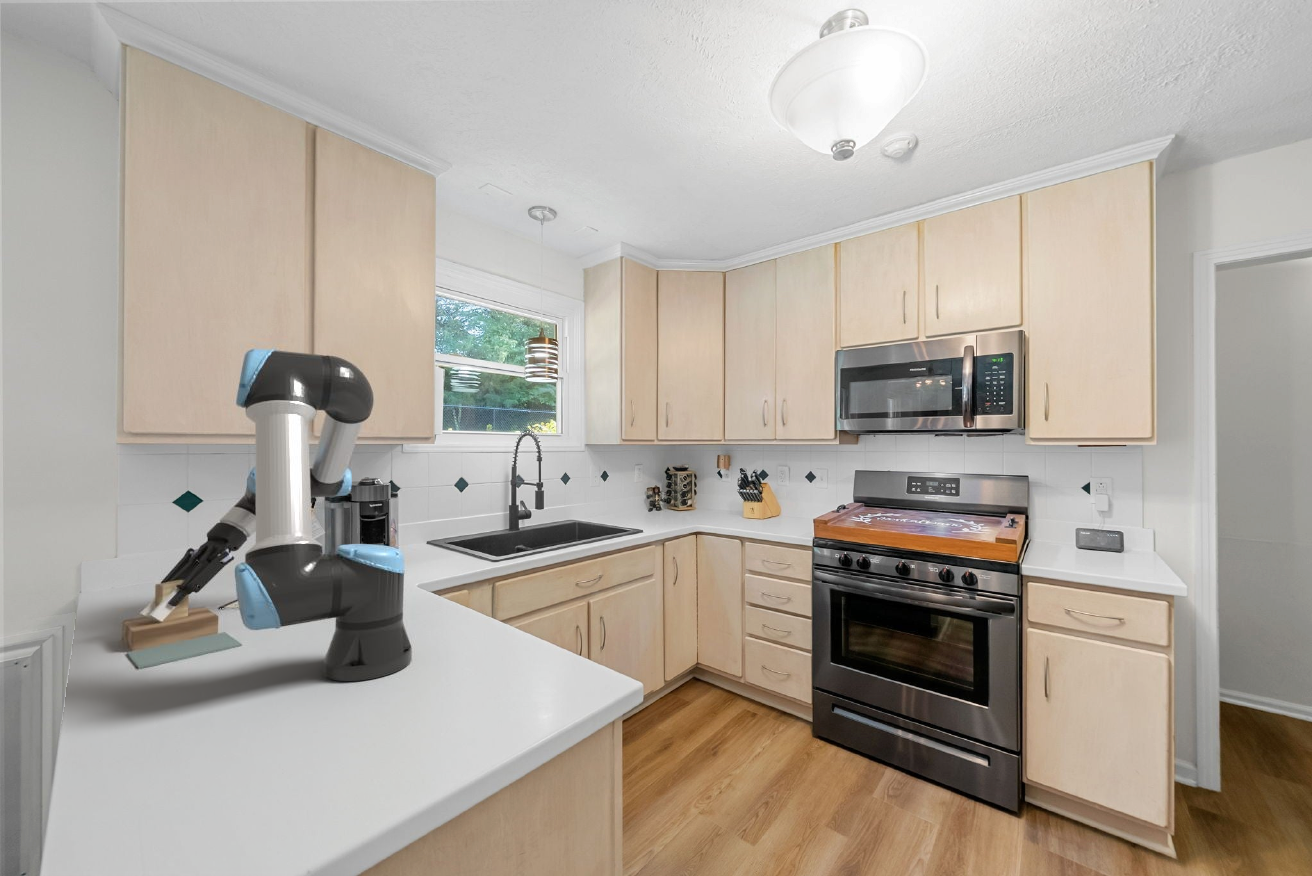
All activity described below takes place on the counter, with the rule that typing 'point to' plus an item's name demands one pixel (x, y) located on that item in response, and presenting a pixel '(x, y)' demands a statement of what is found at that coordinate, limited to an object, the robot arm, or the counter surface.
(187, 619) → the walnut block
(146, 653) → the rubber mat
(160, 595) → the birch block
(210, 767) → the counter surface
